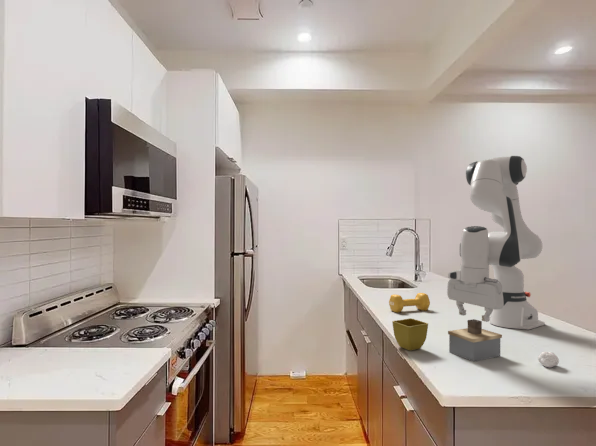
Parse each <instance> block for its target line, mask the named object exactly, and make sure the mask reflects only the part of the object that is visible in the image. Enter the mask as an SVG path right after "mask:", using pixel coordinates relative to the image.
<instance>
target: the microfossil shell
mask: <svg viewBox="0 0 596 446" xmlns="http://www.w3.org/2000/svg"><path fill="white" fill-rule="evenodd" d="M537 360H538V362H539V363H540V364H541V365H542V366H544V367H545V368H553V367H556V366H558V364H559V362H560V360H559V358H558V356H557V355H556V354H555V353H554V352H549V351H542V352H541V353H540V354H539V355H538V357H537Z"/></svg>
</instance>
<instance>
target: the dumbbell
mask: <svg viewBox="0 0 596 446" xmlns="http://www.w3.org/2000/svg"><path fill="white" fill-rule="evenodd" d="M429 298H430V297H429V295H428V294H427V293H426V292H425V293H424V292H419V293H416V294H415V298H407V299H406V298H405V299H403V297H402V295H399V294H396V293H395V294H391V295H390V298H389V300H388V305H389V308H390V311H392V312H393V313H397V314H398V313H401V312H403V309H404V307H414V306H415V307H416V309H418V310H419V311H423V312H425V311H426V312H427V311H428V310H429V307H430V305H431V301H430V299H429Z"/></svg>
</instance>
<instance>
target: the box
mask: <svg viewBox="0 0 596 446" xmlns="http://www.w3.org/2000/svg"><path fill="white" fill-rule="evenodd" d="M448 335H449V334H448ZM448 341H449V345H448V346H449V349H448V352H449V353H451V354H452V355H456V356H459V357H461V358H464V359H467V360H469V361H471V362H478V361H482V360H486V359H492V358H498V357H501V338H497V339H492V340H486V341H480V342H474V343H473V342H470V341H467V340H464V339H461V338H458V337H455V336H452V335H449V340H448Z"/></svg>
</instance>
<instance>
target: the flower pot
mask: <svg viewBox="0 0 596 446" xmlns="http://www.w3.org/2000/svg"><path fill="white" fill-rule="evenodd" d="M428 328H429V323H428V322H425V321H422V320H418V319H415V318H405V319H404V318H403V319H399V320H398V319H397V320H392V329H393V336H394V339H395V342H396V344H398V346H399V348H402V349H404V350H407V351H409V352H410V351H414V350H420V349H422V347H423V346H424V344H425V342H426V340H427V336H428Z"/></svg>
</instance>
